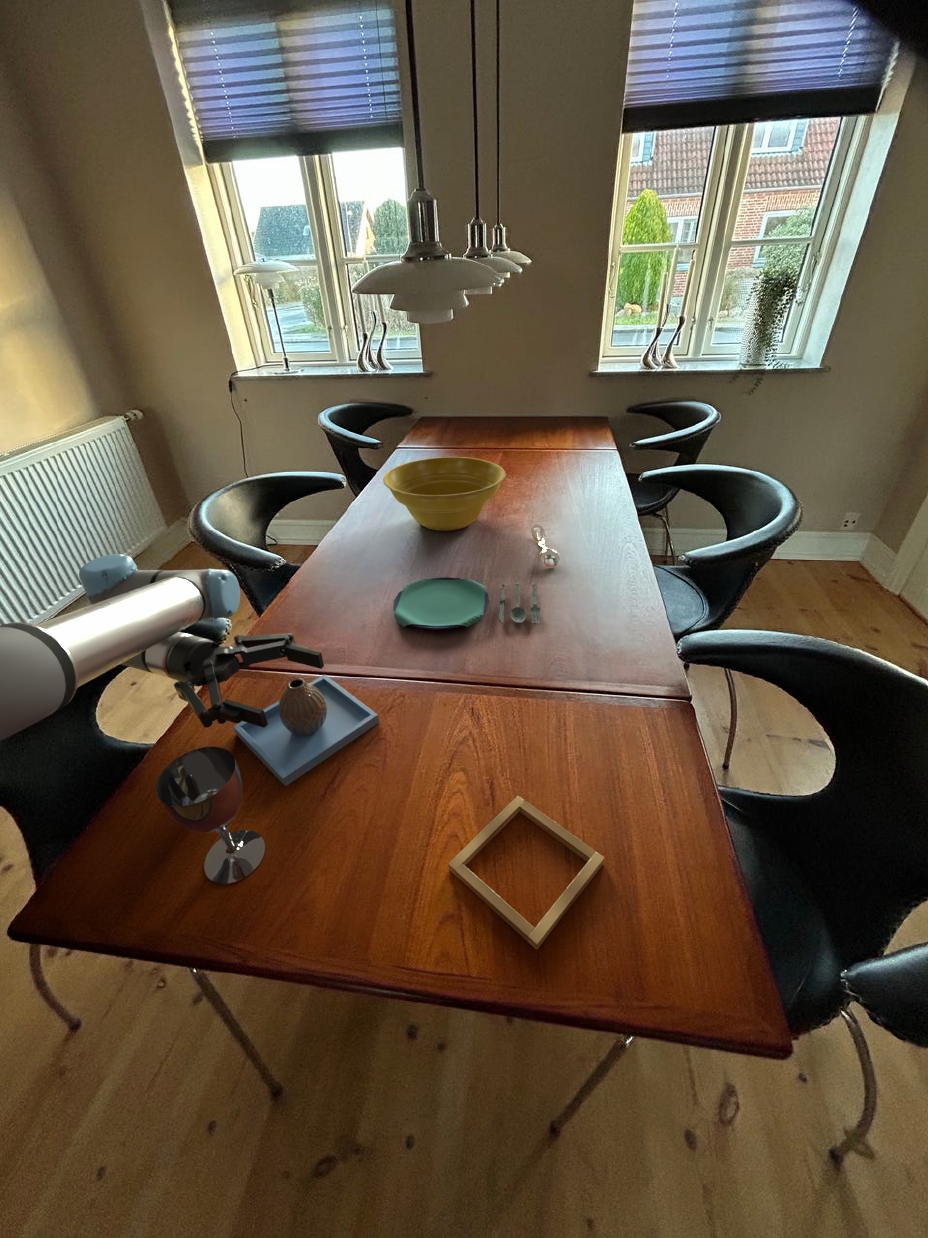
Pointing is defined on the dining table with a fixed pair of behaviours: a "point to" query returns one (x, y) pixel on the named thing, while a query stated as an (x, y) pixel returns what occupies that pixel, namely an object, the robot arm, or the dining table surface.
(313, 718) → the vase
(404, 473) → the planter bowl
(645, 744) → the dining table surface
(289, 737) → the blue tray
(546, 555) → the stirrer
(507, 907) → the oak frame
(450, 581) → the cutlery set
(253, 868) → the wine glass
